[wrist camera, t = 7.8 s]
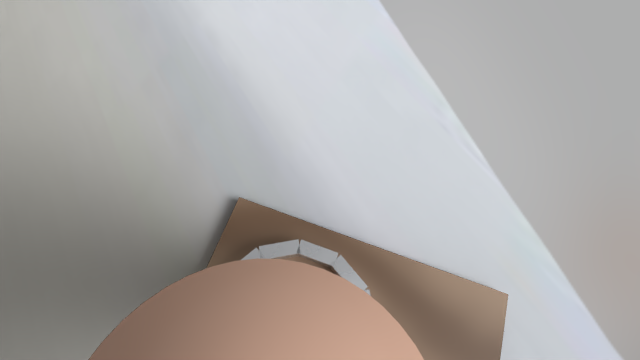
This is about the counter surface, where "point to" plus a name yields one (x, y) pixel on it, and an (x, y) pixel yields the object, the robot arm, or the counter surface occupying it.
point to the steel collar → (309, 258)
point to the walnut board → (386, 284)
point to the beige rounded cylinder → (259, 318)
